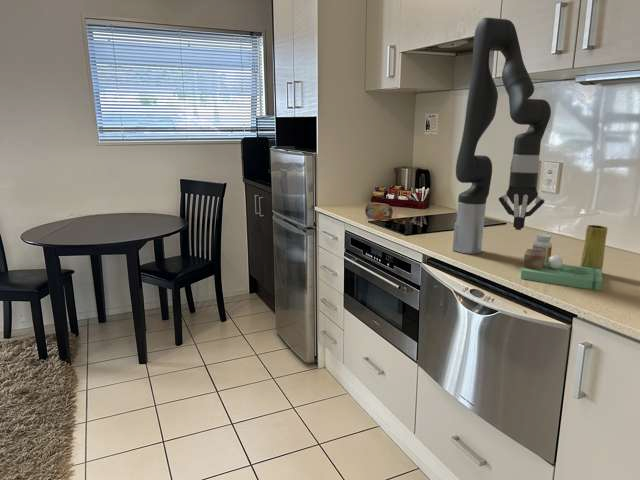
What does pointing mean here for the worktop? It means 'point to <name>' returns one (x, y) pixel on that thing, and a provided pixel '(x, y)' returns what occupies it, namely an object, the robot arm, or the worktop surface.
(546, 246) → the supplement bottle
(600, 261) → the vase
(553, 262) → the ball
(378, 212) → the tin
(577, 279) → the green
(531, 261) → the block
